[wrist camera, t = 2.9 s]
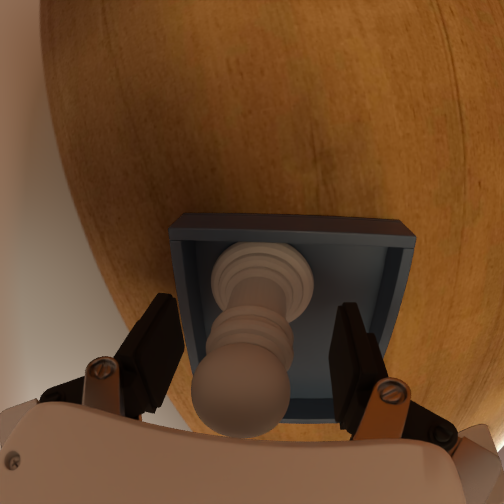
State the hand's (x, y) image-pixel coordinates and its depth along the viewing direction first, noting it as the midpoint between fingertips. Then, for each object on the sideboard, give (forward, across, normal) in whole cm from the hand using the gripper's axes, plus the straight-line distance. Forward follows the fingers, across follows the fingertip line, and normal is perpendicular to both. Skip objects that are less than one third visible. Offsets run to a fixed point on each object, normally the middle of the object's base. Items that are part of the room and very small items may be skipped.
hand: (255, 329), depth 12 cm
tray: (+4, -2, +4) cm, 6 cm away
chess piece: (+4, 0, 0) cm, 4 cm away
